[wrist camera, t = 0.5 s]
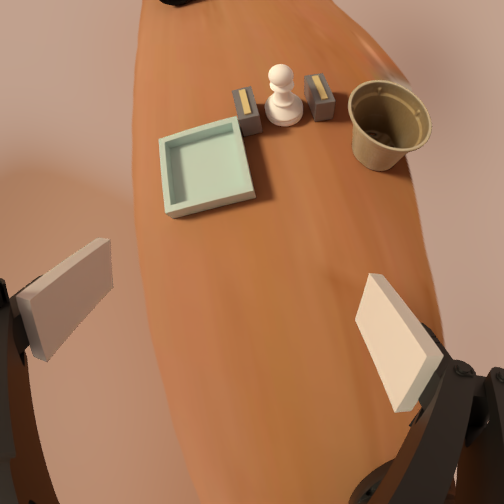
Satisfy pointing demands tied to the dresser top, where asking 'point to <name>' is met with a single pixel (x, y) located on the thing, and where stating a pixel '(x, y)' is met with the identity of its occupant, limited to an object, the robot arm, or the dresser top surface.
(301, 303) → the dresser top surface
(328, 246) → the dresser top surface
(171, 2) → the portable speaker
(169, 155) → the tray
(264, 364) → the dresser top surface
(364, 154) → the flower pot
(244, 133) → the fuse holder
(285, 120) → the chess pawn
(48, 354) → the robot arm
